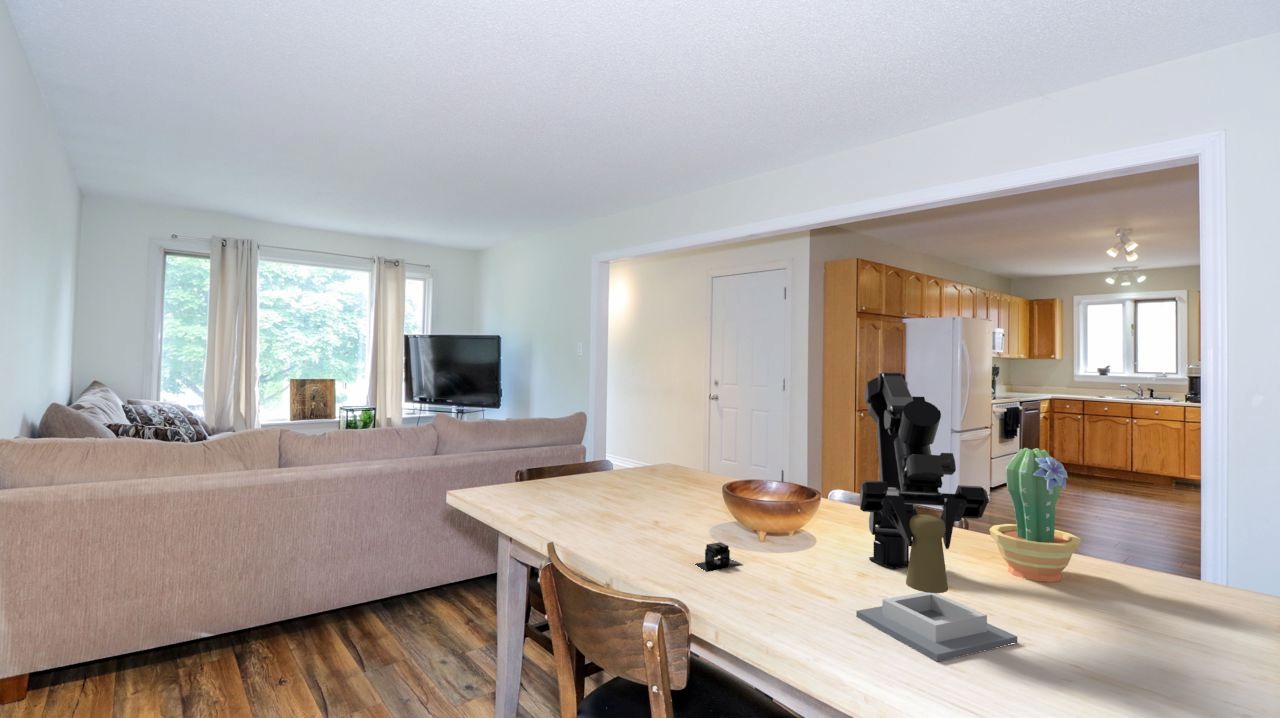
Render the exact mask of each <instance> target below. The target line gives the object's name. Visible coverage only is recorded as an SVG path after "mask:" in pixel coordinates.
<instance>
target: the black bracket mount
mask: <svg viewBox="0 0 1280 718" xmlns="http://www.w3.org/2000/svg"><path fill="white" fill-rule="evenodd" d="M705 547H706V548H705V550H704V558H705V559H704V561H700V562H701V563H700V562H695V563H696V564H695V565H697V566H698V567H700V568H701V569H703V570H702V571H704V570H705V571H704V572H706V573H709V572H713V571H714V570H715V571H721V570H725V569H730V568H737V567H742V566H744V564H743V563H741V562H739V561H737V560H735V559H733V560H731V559H732V558H731V557H730V555H731V551H730V549H729V545H728V544H725V543H723V542H713V543H707V544H706V546H705ZM730 558H731V559H730ZM734 560H735V561H734ZM701 569H700V570H701Z"/></svg>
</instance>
